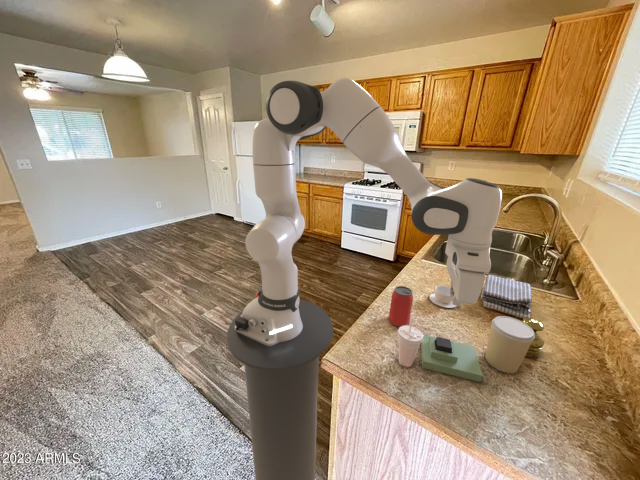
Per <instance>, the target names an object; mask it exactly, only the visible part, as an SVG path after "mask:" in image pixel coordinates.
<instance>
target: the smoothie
mask: <svg viewBox="0 0 640 480" xmlns="http://www.w3.org/2000/svg"><path fill="white" fill-rule="evenodd" d="M413 322H414V317H413V316H412V317H411V316H410V319H409V324H408V325H404V326H401V327H398V330H397V336H398V363H399V364H400V365H401V366H402V367H406V368H409V367H412V366H413V364H414V361H415V358H416V356H417V353H418V351H419V348H420V347H421V343H422V341H423V335H424V333H423V332H422V330H420V329H419V328H417V327H416V326H414V325H413Z"/></svg>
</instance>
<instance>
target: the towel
mask: <svg viewBox="0 0 640 480" xmlns="http://www.w3.org/2000/svg"><path fill="white" fill-rule="evenodd" d="M531 287H532V285H531V284H530V283H527V282H523V281H517V280H513V279H510V278H505V277H500V276H497V275H492V274H487V275H486V278H485V281H484V284H483V288H482V290H481V294H480V300H482V301H483V305H482V306H483V307H484V308H487V309H490V310H494V311H497V312H500V313H504V314H508V315H510V316H513V317H516V318H520V319H522V320H523V319H525V318H529V319H531V314H532V311H531V307H532V306H531V305H532V303H533V301H532V288H531Z"/></svg>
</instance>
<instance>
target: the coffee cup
mask: <svg viewBox="0 0 640 480" xmlns="http://www.w3.org/2000/svg"><path fill="white" fill-rule="evenodd" d="M534 338H535V334H534V331H533V330H532V328H531V327H530V326H528V325H527V324H525V323H524V322H522V320H519V319H518V318H515V317H511V316H506V315H499V316H496V317H494V318H493V319H492V320H491V326H490V329H489V335H488V340H487V345H486V349H485V354H484V356H485V360H486V361H487V363H488V364H489V365H490V366H491V367H493V368H494V369H496V370H498V371H500V372H503V373H506V374H514V373H517V371H518V370H519V368H520V366H521V365H522V363H523V361H524V359H525V357H526V356H525V355H526V353H527V351H528V349H529V347H530V345H531V343H532V341H533V340H534Z"/></svg>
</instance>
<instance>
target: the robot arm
mask: <svg viewBox="0 0 640 480" xmlns="http://www.w3.org/2000/svg"><path fill="white" fill-rule="evenodd" d="M265 110H266V115H267V117H265V118H263V119H261V120H259V121H258V122H256V124H255V125H254V128H253V135H252V150H251V151H252V167H253V178H254V179H253V180H254V188H255V194H256V196H257V198H259V199H260V201H261V202H262V206H263V208H264V212H265V218H264V219H262V220H260V221H259V222H257V223H256V224H255V225H254V226H253V227H252V228H251V229H250V230H249V232H248V233H247V234H246V236H245V241H244V242H245V243H244V245H245V249H246V251H247V253H248V255H249V256H250V257H251V258H252V259H253V260H255V261H257V263H258V266H259V268H260V276H261V287H260V288H259V289H258V290H257V292H256V293H255V294H254V296H255V298H253V299H252V300H251V301H250V302H248V303H247V305H246V306H245V307H244V308H243V310H242V311H243V313H242V315H241V316H240V317H238V318H237V319H236V320H235V331H237V332H239V333H241V334H243V335H245V336H247V337H249V338H251V339H253V340H256V341H258V342H260V343H262V344H264V345H266V346H273V345H275V344H277V343H279V342H284V341H288V340H291V339H293V338H295V337H296V336H298V335H299V334H300V332H301V331H302V328H303V324H302V321H301V318H300V313H299V300H300V299H301V298H300V288H299V284H298V283H299V279H298V277H299V269H298V266H297V264H295V262H294V260H293V254H292V251H293V247H294V246H295V244H296V243H297V242H298V241H299V240H300V239H301V237H302V235H303V233H304V231H305V228H306V220H305V217H304V215H303V214H302V212H301V208H300V204H299V199H298V192H297V175H296V173H297V172H296V152H295V151H296V145H297V142H298V141H299V140H303V141H304V140H305V139H308V138H311V137H314V136H317V135H319V134H321V133H322V132H323V131H325V130H326V129H327V128H328V129H330V130H331V131H332V132H333V133H334V134H335V135H336V136H337V137H338V138H339V140H340V141H341V142H342V143H343V145H344V147H346V148H347V149H348V150H349V151H350V153H352V154H353V155H354V156H355V157H356V158H358V160H360V161H361V162H362V163H364V164H367V165H369V166H373V167H376V168H378V169H380V170H382V171H383V172H384V173H386V174H387V175H388V176H389V177H390V178H391V179H392V180H393V181H394V182H395V184H396V185H397V186H398V187H399V188H400V189H401V191H402V192H403V193H404V194H405V195H406V197H407V199H408V201H409V206H410V210H411V211H410V212H411V213H410V214H411V221H412V224H413V226H414V227H415V228H416V229H417V230H418V231H419V232H420V233H423V234H425V235H432V236H443V235H444V236H446V235H448V237H447V242H446V246H445V251H444V253H445V255H446V256H447V260H446V270H447V272H448V276H449V279H450V285H449V287H450V295H451V296H453V299H452V303H453V305H455V306H456V307H461V306H462V304H465V305H470V306H473V305H475V304H477V302H478V300H479V297H480V296H481V294H482V290H483V288H484V285H485V281H486V274H489V273H490V272H491V270H492V269H491V268H492V263H491V257H490V253H491V245H492V243H493V231H494V229H495V227H496V226H497V223H498V219H499V215H500V211H501V207H502V201H503V200H502V199H503V191H502V190H501V188H500V187H499V186H498V185H496V184H495V183H493V182H490V181H487V180H483V179H480V178H479V179H478V178H473V177H468V178H464V179H463V180H462V181H460V182H458V183H455V184H453V185H451V186H447V187H446V188H444V187H442V186H440V185H438V184H436V183H434V182H432V181H430V180H429V179H427V178H426V176H425V175H424V174H423V173H422V172H421V171H420V170H419V168H418V167H417V166H416V165H415V164H414V162H413V161H412V160H411V159H410V157H409V156H408V154H407V153H406V151H405V149H404V147H403V145H402V141H401V138H400V136H399V134H398V132H397V129H396V127H395V126H394V124H393V122H392V120H391V119H390V117H389V116H388V115H387V113H386V112H385V110H384V108H382V107H381V105H380V104H379V103H378V102H377V101H376V99H375V98H374V97H373V96H372V95H371V94H369V92H368V91H366V89H364V88H363V87H362V86H361V85H360V84H359V83H357V82H356V81H354V80H353V79H351V78H349V77H342V78H339V79H337V80H335V81H334V82H332V83H330V84H329V86H328V87H327V88H326V89H325V90H323V91H320V89H319V87H317V86H314V85H312V84H307V83H304V82H301V81H298V80H283V81H280V82H278V83H276V84H275V85H273V87H272V88H271V89H270V91H269V92H268V94H267V97H266V101H265Z"/></svg>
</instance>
